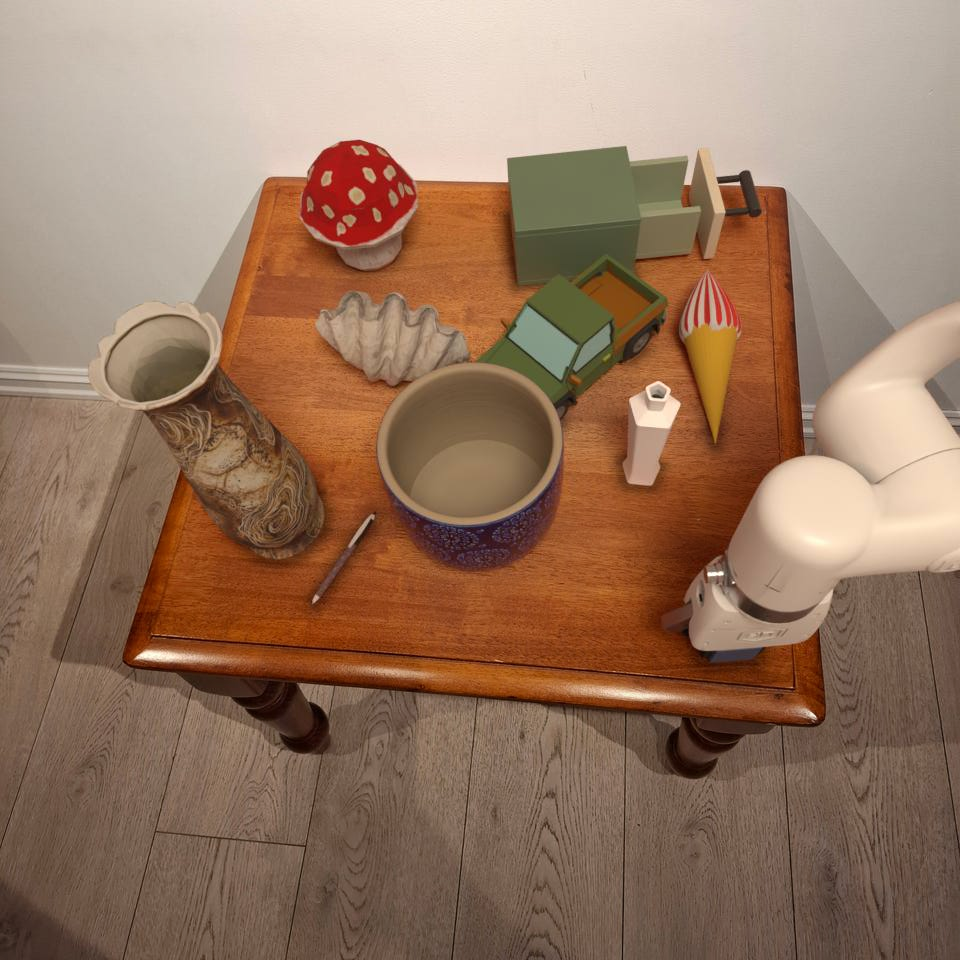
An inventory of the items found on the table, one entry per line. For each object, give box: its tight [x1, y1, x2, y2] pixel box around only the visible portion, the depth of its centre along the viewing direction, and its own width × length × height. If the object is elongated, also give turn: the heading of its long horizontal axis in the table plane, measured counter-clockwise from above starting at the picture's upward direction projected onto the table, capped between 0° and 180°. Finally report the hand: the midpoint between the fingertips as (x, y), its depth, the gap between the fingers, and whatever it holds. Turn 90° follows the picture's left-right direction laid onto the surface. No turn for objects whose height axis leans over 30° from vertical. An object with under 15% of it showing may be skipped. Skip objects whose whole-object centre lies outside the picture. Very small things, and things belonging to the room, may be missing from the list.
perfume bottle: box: [621, 380, 681, 487], centre depth 80 cm, size 5×4×15 cm
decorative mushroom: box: [298, 139, 419, 272], centre depth 96 cm, size 14×14×15 cm
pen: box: [311, 511, 377, 605], centre depth 84 cm, size 11×1×1 cm, turn 149°
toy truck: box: [474, 254, 669, 422], centre depth 89 cm, size 11×21×10 cm, turn 133°
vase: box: [87, 300, 326, 560], centre depth 74 cm, size 10×11×30 cm
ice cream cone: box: [678, 268, 743, 445], centre depth 90 cm, size 6×6×20 cm
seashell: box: [314, 290, 471, 387], centre depth 90 cm, size 10×15×10 cm
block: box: [707, 647, 762, 664], centre depth 77 cm, size 4×4×4 cm
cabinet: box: [506, 145, 641, 287], centre depth 97 cm, size 14×11×9 cm
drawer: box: [629, 147, 763, 260], centre depth 97 cm, size 17×10×7 cm, turn 94°
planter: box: [375, 361, 565, 572], centre depth 79 cm, size 17×17×15 cm
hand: (727, 639), depth 78 cm, fingers closed on block, 4 cm apart
